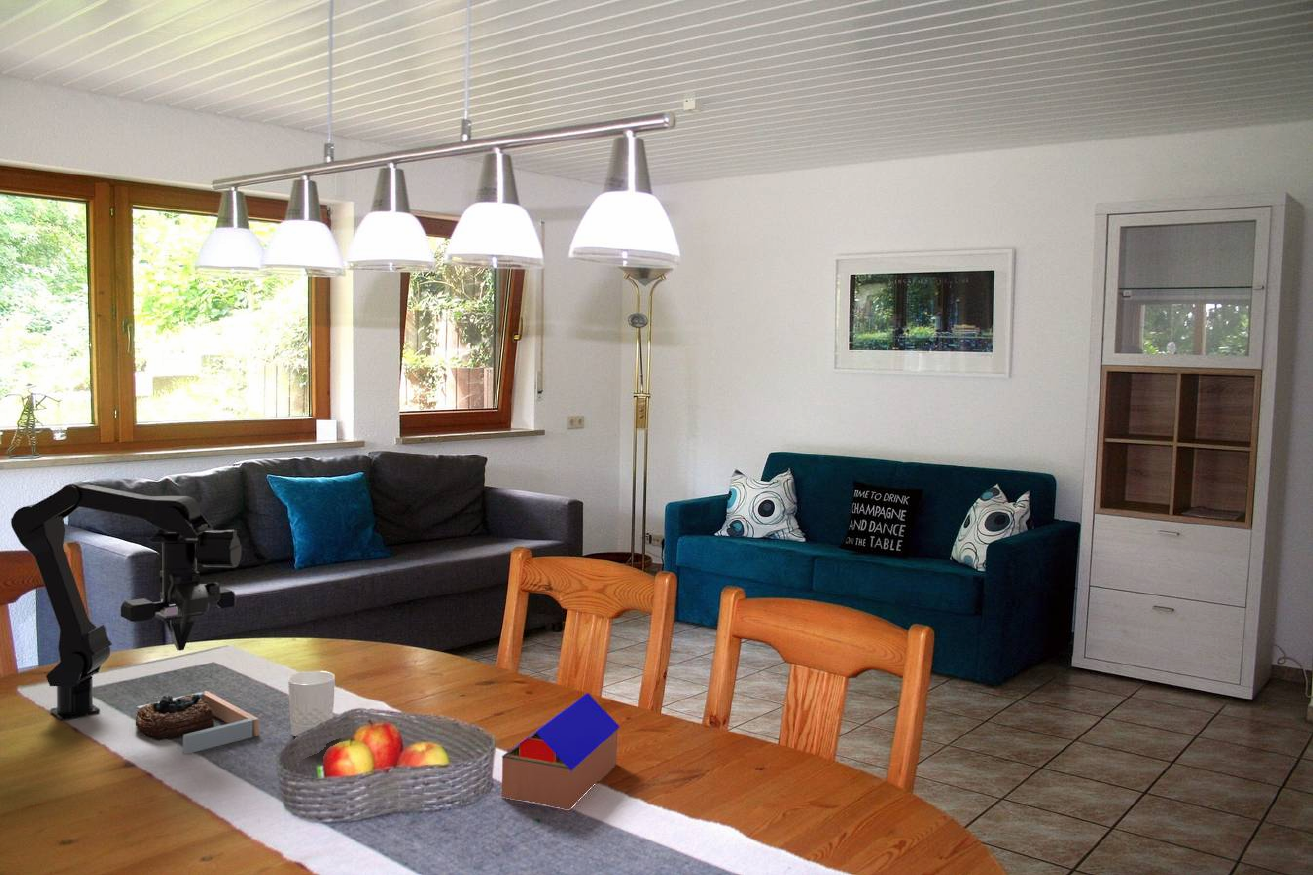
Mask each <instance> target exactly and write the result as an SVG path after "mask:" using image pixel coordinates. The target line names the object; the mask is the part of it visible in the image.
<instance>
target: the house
mask: <svg viewBox="0 0 1313 875" xmlns="http://www.w3.org/2000/svg"><path fill="white" fill-rule="evenodd" d="M620 728H621V726H620V725H619V724H618V723H617V722H616V721H615V720H614V719H613V717H612V716H610V715H609V713H607V711H606V710H605V709H604V708H603V707H602V706H601V705H600V704H599V703H598V702H597V701H596V700H595V698H594V697H592V695H591V694H590V693H589V692H587V693H585V694H584V695H583V696H581V697H580V698H578V699H577V700H576V701H574V702H573V703H572V704H570V705H569V706H567V707H566V708H565V709H564V710H562V711H561V712H559V713H558V714H556V715H555V716H554V717H552V718H551V719H549V721H547V722H546V723H545V724H543V725H542V726H540V728H538V729H537V730H535V731H534V732H533V733H531V734H530V735H529V736H527V737H526V738H524V740H522V741H521V742H519V743H518V744H516V745H515V746H514V747H512V748H511V749H510V750H508V751H507V752H506V753H504V754H503V755H502V756H501V758H502V761H501V762H502V763H501V764H502V765H501V766H502V767H501V769H502V771H501V798H502V797H505V798H509V799H510V798H511V799H515V800H522V801H529V802H535V803H540V804H546V805H550V806H554V807H560V808H564V809H570V808H571V807H572V806H573V805H574V804H575V803H576V802H577V801H578V800H579V799H580V798H581V797H582V796H583V795H584V794H585V793H586V792H587V791H588V790H589V789H590V788H591V787H592V786H593V785H594V784H596V783H597V782H598V781H599V782H601V780H603V778H604V777H605V776H606V775H608V773H610V772H611V771H612V770H613V769H614V768H615V767H616V766H617V760H618V758H617V757H618V756H617V755H618V731H619V729H620ZM615 765H616V766H615ZM599 782H598V783H599ZM598 783H597V784H598ZM597 784H596V785H597Z"/></svg>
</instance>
